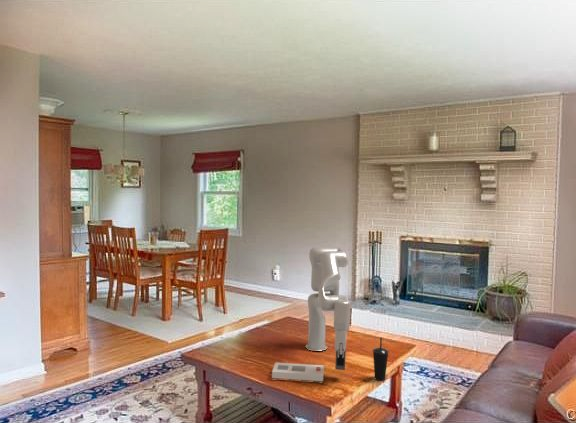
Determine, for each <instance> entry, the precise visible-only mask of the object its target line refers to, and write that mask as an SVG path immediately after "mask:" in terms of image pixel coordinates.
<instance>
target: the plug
mask: <svg viewBox="0 0 576 423" xmlns="http://www.w3.org/2000/svg"><path fill="white" fill-rule="evenodd" d="M339 350H340V349H339ZM342 351H343V350H342ZM346 351H347V350H346V349H345V352H344V366H338V365H337V357H338V351H335V361H334V362H335V366H334V368H335V370H340V371H345V370H346ZM339 353H340V352H339ZM342 353H343V352H342Z"/></svg>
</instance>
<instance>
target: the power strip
mask: <svg viewBox="0 0 576 423" xmlns="http://www.w3.org/2000/svg"><path fill="white" fill-rule="evenodd" d="M324 369H325V365H323V364H322V365H319V364H306V363H290V362H274V365H273V368H272V371H271V380H272V379H289V380H301V381H313V382H323V383H324V374H325V370H324Z"/></svg>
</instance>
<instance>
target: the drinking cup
mask: <svg viewBox="0 0 576 423" xmlns="http://www.w3.org/2000/svg"><path fill="white" fill-rule="evenodd" d="M379 338H380V339H379V340H380V341H379V347H375V348H373V349H372V353H373V354H372V355H373V369H374V379H375V378H376V379H375V380H377V381H378V382H379V381H381V382H382V381H383V382H384V381H385V380H386V375H387V374H386V373H387V367H388V358H389V357H388V356H389V353H390V351H389V350H388V349H386V348H384V347H382V342H383V341H382V340H383V337H381V336H380V337H379Z"/></svg>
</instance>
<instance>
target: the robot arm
mask: <svg viewBox="0 0 576 423" xmlns="http://www.w3.org/2000/svg"><path fill="white" fill-rule="evenodd" d="M308 254H309V256H308V257H309V262H310V265H311V276H310V277H311V281H310V287H311V291H313V292H316V293H311V294H310V295H308V297H307V308H308V338H307V339H308V340H307V342H308V343H306V345H305V347H306V348H307V349H309V350H315V351H322V350H326V349H327V348H328V345H326V320H327V319H326V316H325V314H324V313H323V312H322V311H324V312H333V330H335V334H334V351H335V352H336V351H338V357H337V365H338V366H344V352H345V349H346V345H347V338H348V337H347V335H348V331H350V326H351V325H350V321H351V320H350V319H351V302H350V300H349V299H348V297H347V296H346V295H340V279H341V272H340V269H339V268H346V267H347V266H348V263H349V257H348V254H347V253H346V252H345V250H343V249H342V248H341V247H338V246H337V247H336V246H330V247H329V246H315V247H311V248H310V249H309V253H308ZM327 292H328V293H327ZM306 348H305V349H306ZM307 349H306V350H307ZM339 349H340V350H339ZM309 350H308V351H309ZM327 350H328V349H327ZM327 350H326V351H327ZM342 350H343V351H342ZM339 352H340V353H339ZM342 352H343V353H342Z"/></svg>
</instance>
